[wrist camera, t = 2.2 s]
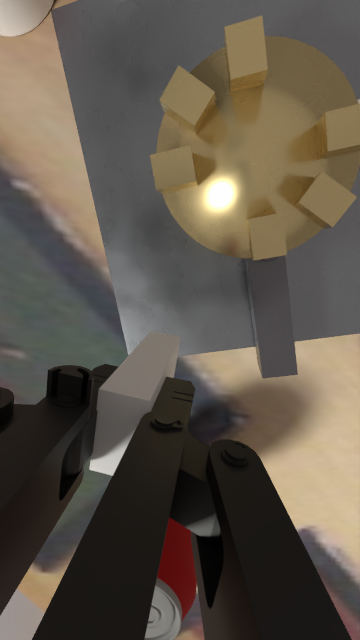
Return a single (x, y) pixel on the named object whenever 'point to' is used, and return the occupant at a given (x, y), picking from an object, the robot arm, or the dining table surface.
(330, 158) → the studded gold disc
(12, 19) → the pill bottle
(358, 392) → the dining table surface
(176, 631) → the beverage can
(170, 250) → the housing
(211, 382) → the dining table surface
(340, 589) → the dining table surface
